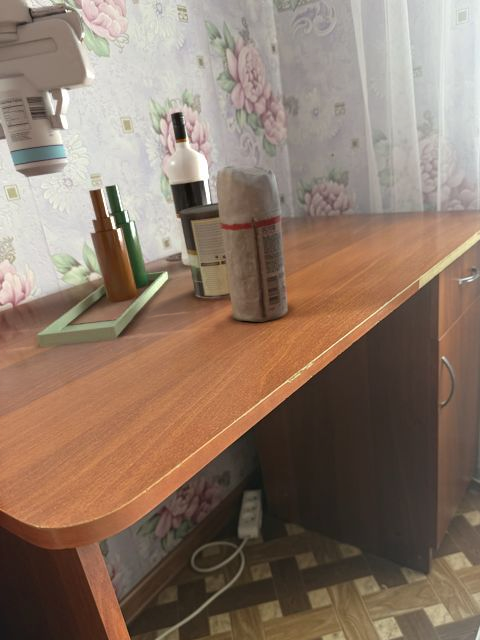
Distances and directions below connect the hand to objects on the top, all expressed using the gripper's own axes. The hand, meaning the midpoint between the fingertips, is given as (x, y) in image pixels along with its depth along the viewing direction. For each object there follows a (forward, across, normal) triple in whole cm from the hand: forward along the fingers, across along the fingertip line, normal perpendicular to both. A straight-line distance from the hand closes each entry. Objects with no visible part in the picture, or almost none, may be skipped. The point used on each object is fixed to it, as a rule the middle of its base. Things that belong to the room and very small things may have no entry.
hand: (32, 134), depth 68 cm
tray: (+28, -2, -7) cm, 28 cm away
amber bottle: (+27, -2, -11) cm, 29 cm away
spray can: (+28, -28, +5) cm, 40 cm away
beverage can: (+5, 0, 0) cm, 5 cm away
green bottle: (+27, -2, -19) cm, 33 cm away
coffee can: (+28, -21, -9) cm, 36 cm away
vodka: (+28, -13, -35) cm, 47 cm away
